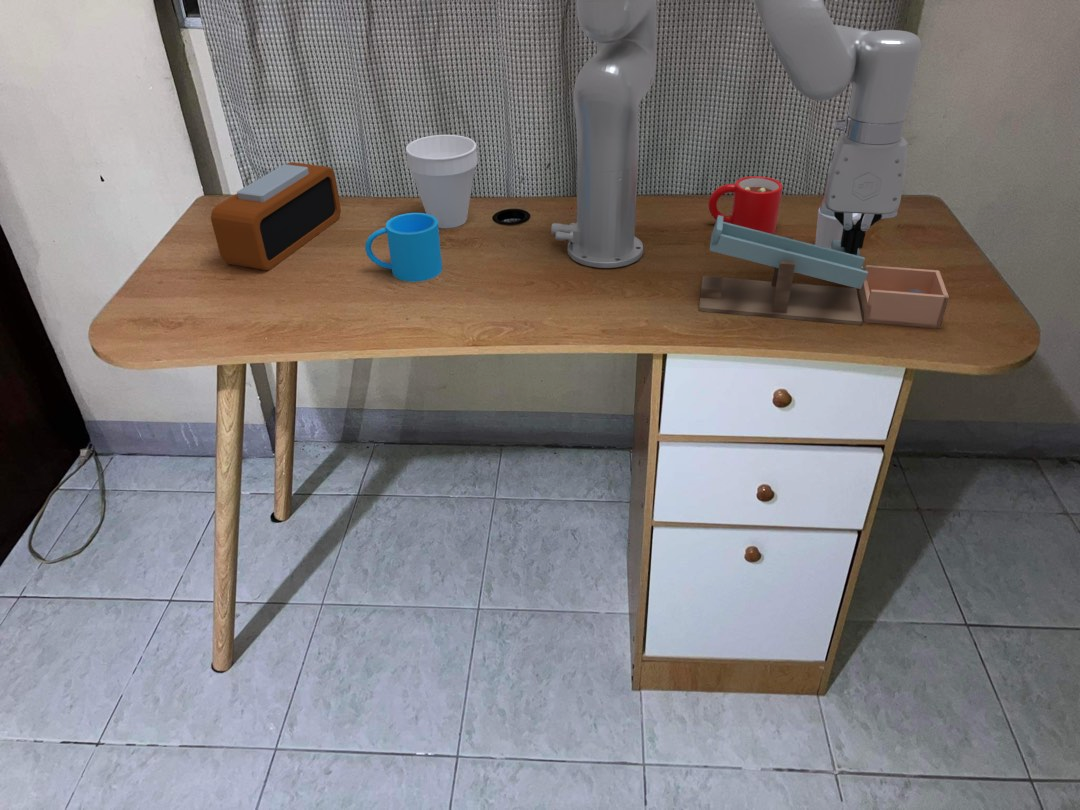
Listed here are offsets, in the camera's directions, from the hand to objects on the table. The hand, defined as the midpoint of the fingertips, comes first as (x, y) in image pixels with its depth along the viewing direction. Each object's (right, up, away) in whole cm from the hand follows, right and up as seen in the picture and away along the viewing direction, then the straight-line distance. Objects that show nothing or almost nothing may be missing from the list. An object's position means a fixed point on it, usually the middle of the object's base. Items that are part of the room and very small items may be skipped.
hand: (850, 251), depth 125 cm
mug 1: (-69, -1, +10) cm, 69 cm away
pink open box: (+6, -9, -3) cm, 11 cm away
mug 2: (-11, +8, +21) cm, 25 cm away
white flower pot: (-63, +10, +26) cm, 69 cm away
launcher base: (-11, -8, 0) cm, 13 cm away
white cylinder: (+2, +2, +13) cm, 13 cm away
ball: (+7, -8, -5) cm, 12 cm away
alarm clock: (-91, +5, +21) cm, 94 cm away
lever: (-10, 0, -1) cm, 10 cm away
